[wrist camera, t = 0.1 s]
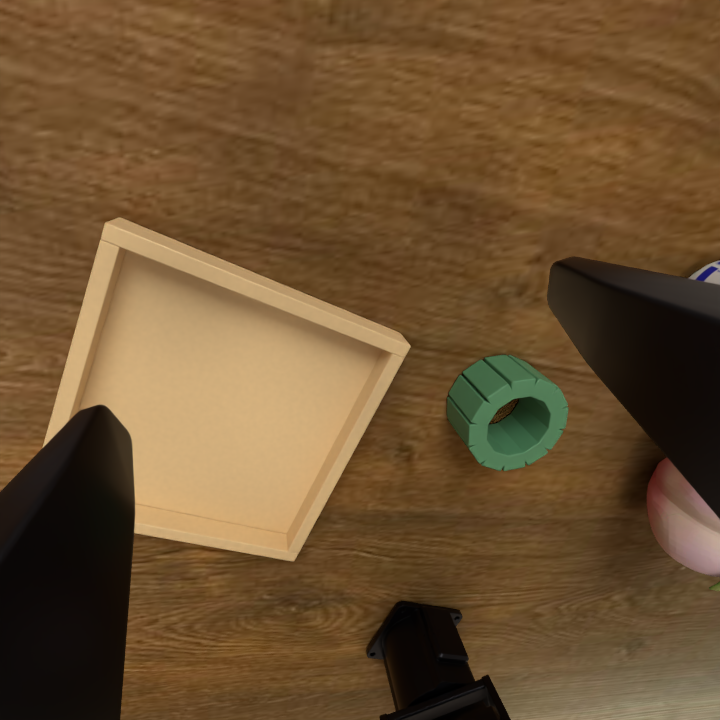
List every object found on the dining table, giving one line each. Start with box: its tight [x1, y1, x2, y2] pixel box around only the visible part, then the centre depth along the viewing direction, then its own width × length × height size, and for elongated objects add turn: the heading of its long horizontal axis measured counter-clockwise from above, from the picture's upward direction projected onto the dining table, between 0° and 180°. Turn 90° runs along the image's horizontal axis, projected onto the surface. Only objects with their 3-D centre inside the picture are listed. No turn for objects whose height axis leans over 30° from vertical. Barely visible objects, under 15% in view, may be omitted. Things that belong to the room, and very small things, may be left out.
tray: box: [43, 217, 411, 561], centre depth 25 cm, size 17×16×2 cm
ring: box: [447, 355, 568, 471], centre depth 28 cm, size 6×6×4 cm
